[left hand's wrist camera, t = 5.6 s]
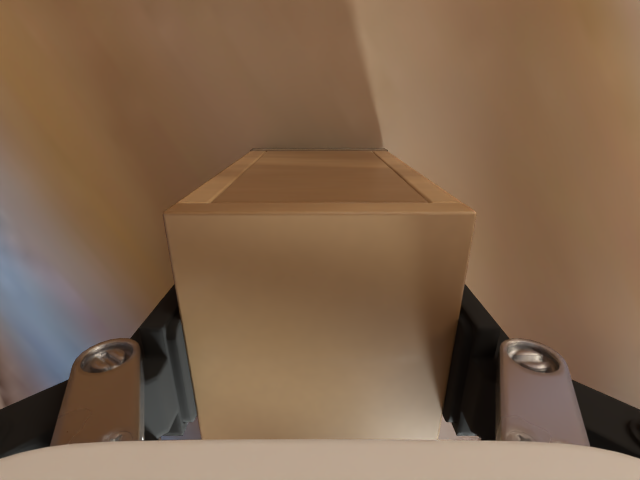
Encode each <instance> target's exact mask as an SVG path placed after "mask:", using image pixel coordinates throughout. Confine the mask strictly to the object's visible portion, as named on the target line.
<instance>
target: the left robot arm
mask: <svg viewBox="0 0 640 480" xmlns="http://www.w3.org/2000/svg"><path fill="white" fill-rule="evenodd" d="M442 414H443V417H444V419H445V421H446V422H451V423H452V425H453V428H454V430H455V432H456V435H457V436H479V440H402V439H238V440H161V436H162V435H163V436H183V434H184V432H185V429H186V427H187V424H188V422H193V421H194V420H195V418H196V416H197V410H196V405H195V399H194V393H193V387H192V381H191V376H190V370H189V364H188V358H187V352H186V347H185V341H184V335H183V329H182V323H181V318H180V312H179V306H178V300H177V294H176V289H175V284H174V285H173V287H172V288H171V289H170V290H169V292H168V293H167V294H166V295H165V297H164V298H163V299H162V300H161V301H160V302H159V304H158V305H157V306H156V307H155V309H154V310H153V311H152V312H151V314H150V315H149V316H148V317H147V319H146V320H145V321H144V322H143V323H142V325H141V326H140V327H139V328H138V330H137V331H136V332H135V333H134V335H133V336H132V337H131V338H130V339H129V338H118V339H111V340H107V341H104V342H101V343H98V344H96V345H94V346H92V347H90V348H89V349H87V350H86V351H84V352H83V353H81V354H80V355H79V356H78V357H77V358H76V360H75V362H74V364H73V366H72V369H71V373H70V376H69V380H66V381H64V382H62V383H59V384H57V385H55V386H53V387H50V388H48V389H46V390H44V391H41V392H39V393H37V394H34V395H32V396H30V397H28V398H25V399H23V400H21V401H19V402H16V403H14V404H12V405H10V406H7V407H5V408H3V409H0V480H640V410H639V409H637V408H635V407H632V406H630V405H628V404H626V403H623V402H621V401H619V400H617V399H614V398H612V397H610V396H608V395H605V394H603V393H601V392H598V391H596V390H594V389H592V388H589V387H587V386H585V385H583V384H580V383H578V382H576V381H573V380H571V376H570V373H569V369H568V366H567V364H566V362H565V360H564V358H563V357H562V356H561V355H560V354H559V353H557V352H556V351H554V350H553V349H551V348H550V347H548V346H546V345H544V344H542V343H539V342H536V341H533V340H529V339H522V338H511V339H509V338H508V336H507V335H506V334H505V333H504V331H503V330H502V329H501V328H500V326H499V325H498V324H497V323H496V322H495V320H494V319H493V318H492V317H491V315H490V314H489V313H488V312H487V310H486V309H485V308H484V307H483V305H482V304H481V303H480V302H479V301H478V299H477V298H476V297H475V296H474V295H473V293H472V292H471V291H470V290H469V288H468V287H467V286H466V285H465V284H464V290H463V296H462V302H461V308H460V314H459V319H458V324H457V330H456V336H455V342H454V348H453V354H452V360H451V365H450V371H449V377H448V383H447V389H446V395H445V401H444V406H443V412H442Z"/></svg>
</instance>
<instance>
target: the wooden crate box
mask: <svg viewBox="0 0 640 480" xmlns="http://www.w3.org/2000/svg"><path fill="white" fill-rule="evenodd" d="M163 219H164V225H165V231H166V236H167V242H168V248H169V254H170V260H171V265H172V271H173V277H174V283H175V289H176V294H177V300H178V306H179V312H180V318H181V323H182V329H183V335H184V341H185V347H186V352H187V358H188V364H189V370H190V376H191V381H192V387H193V393H194V399H195V405H196V410H197V416H198V422H199V428H200V434H201V439H202V440H238V439H402V440H438V437H439V431H440V425H441V419H442V412H443V406H444V401H445V395H446V389H447V383H448V377H449V371H450V365H451V360H452V354H453V348H454V342H455V336H456V330H457V324H458V319H459V314H460V308H461V302H462V296H463V290H464V284H465V279H466V273H467V267H468V261H469V255H470V249H471V243H472V238H473V232H474V226H475V220H476V211H474V210H473V209H471V208H470V207H468V206H467V205H465V204H463V203H461V201H459V200H458V199H456V198H455V197H453V196H452V195H450V194H449V193H447V192H446V191H445V190H443V189H442V188H440V187H439V186H437V185H436V184H434V183H433V182H431V181H430V180H429V179H427V178H426V177H424V176H423V175H421V174H420V173H418V172H417V171H415V170H414V169H412V168H411V167H410V166H408V165H407V164H405V163H404V162H402V161H401V160H399V159H398V158H396V157H395V156H394V155H392V154H391V153H389V152H388V150H386V149H385V148H359V149H252V150H250V152H249V153H248V154H246V155H245V156H243V157H242V158H240V159H239V160H237V161H236V162H235V163H233V164H232V165H230V166H229V167H227V168H226V169H225V170H223V171H222V172H220V173H219V174H217V175H216V176H215V177H213V178H212V179H210V180H209V181H207V182H206V183H204V184H203V185H202V186H200V187H199V188H197V189H196V190H194V191H193V192H192V193H190V194H189V195H187V196H186V197H184V198H183V199H182V200H180V201H179V202H177V204H174V205H173V206H172V207H170V208H169V209H167V210H166V211H164V212H163Z"/></svg>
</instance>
